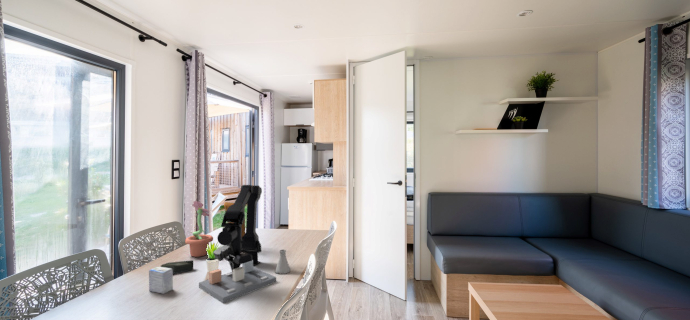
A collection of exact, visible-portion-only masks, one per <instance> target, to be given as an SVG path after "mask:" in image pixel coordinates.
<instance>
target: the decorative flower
mask: <svg viewBox="0 0 690 320" xmlns="http://www.w3.org/2000/svg"><path fill="white" fill-rule="evenodd" d="M203 206H204V204H203V202H201V201H197V200H194V201H193V202H192V207H193V208H194V209H195V211H196V213H197V225H198V230H197V231H193V232H191V231H187V233H188V232H189V233H191V234H192V235H190V236H188V237H186V238H185V244H186V245H189V254H190V256H192V257H194V258H198V257H203V256H206V255H207V254H208V253H207V251H206V248H207V244H208V245H209V246H210V243H211V242H213V241H214V237H213V236H212V235H210V234H206V232H205V231H204V229H203V225H202V216H203V217H209V216H210V214H209V213H210V211H209V210H208V209H207V208H203ZM202 233H203V234H202Z"/></svg>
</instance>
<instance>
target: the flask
mask: <svg viewBox="0 0 690 320" xmlns="http://www.w3.org/2000/svg"><path fill="white" fill-rule="evenodd" d="M286 252H287V249H280V250H279V257H278V262H277V265H276V268H275V270H274V274H278V275H283V274H284V275H286V274H288V273H289V272H291V267H290V265H289V263H288V260H287V259H288V258H287V255H286Z"/></svg>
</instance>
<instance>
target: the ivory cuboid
mask: <svg viewBox="0 0 690 320" xmlns="http://www.w3.org/2000/svg"><path fill="white" fill-rule="evenodd" d="M242 279H244V268H243V267H242V266H240V267H239V268H236V269H233V281H235V282H236V281H239V280H242Z"/></svg>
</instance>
